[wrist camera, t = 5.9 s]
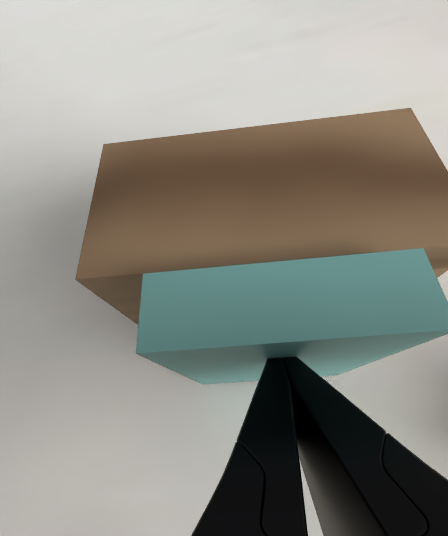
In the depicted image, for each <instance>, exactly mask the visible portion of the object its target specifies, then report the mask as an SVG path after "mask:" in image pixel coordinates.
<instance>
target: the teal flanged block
mask: <svg viewBox="0 0 448 536" xmlns="http://www.w3.org/2000/svg"><path fill="white" fill-rule="evenodd" d="M446 334H448V302H447V300H446V297H445V295H444V293H443V291H442V288H441V286H440V284H439V282H438V279H437V277H436V275H435V273H434V271H433V268H432V266H431V264H430V262H429V259H428V257H427V255H426V253H425V251H424V248H419V249H408V250H397V251H386V252H375V253H364V254H353V255H342V256H331V257H320V258H309V259H298V260H287V261H276V262H265V263H254V264H243V265H233V266H222V267H211V268H200V269H189V270H178V271H167V272H156V273H145V274H143V279H142V290H141V302H140V313H139V325H138V336H137V348H136V354H138V355H140V356H143V357H145V358H147V359H149V360H151V361H153V362H156V363H158V364H160V365H162V366H164V367H166V368H169V369H171V370H173V371H175V372H177V373H179V374H182V375H184V376H186V377H188V378H190V379H192V380H195V381H197V382H199V383H201V384H215V383H230V382H244V381H259V379H260V377H261V374H262V371H263V368H264V366H265V363H266V360H267V359H270V358H284V357H298V358H299V359H300V360H301V361H303V362H304V363H305V364H306V365H307V366H309V367H310V368H311V369H312V370H313V371H315V372H316V373H317V374H318V375H319V376H333V375H339V374H341V373H344V372H347V371H349V370H352V369H355V368H357V367H360V366H363V365H365V364H368V363H371V362H373V361H376V360H379V359H381V358H384V357H387V356H389V355H392V354H395V353H397V352H400V351H403V350H405V349H408V348H411V347H414V346H416V345H419V344H422V343H424V342H427V341H430V340H432V339H435V338H438V337H440V336H443V335H446Z"/></svg>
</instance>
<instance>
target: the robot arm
mask: <svg viewBox="0 0 448 536" xmlns="http://www.w3.org/2000/svg"><path fill="white" fill-rule="evenodd" d="M299 458H300V461H301V465H302V468H303V471H304V474H305V477H306V481H307V484H308V487H309V490H310V493H311V497H312V500H313V503H314V506H315V510H316V513H317V516H318V519H319V522H320V526H321V529H322V532H323V535H324V536H448V480H447V479H446V478H445V477H443V476H442V475H441V474H439V473H438V472H437V471H435V470H434V469H432V468H431V467H430V466H428V465H427V464H426V463H425V462H423V461H422V460H421V459H420V458H418V457H417V456H416V455H415V454H413V453H412V452H411V451H410V450H408V449H407V448H406V447H405V446H403V445H402V444H401V443H400V442H398V441H397V440H396V439H395V438H394V437H392V436H391V435H390V434H389V433H387V434H386V431H385V430H384V429H383V428H382V427H380V426H379V425H378V424H377V423H376V422H374V421H373V420H372V419H371V418H370V417H368V416H367V415H366V414H365V413H364V412H362V411H361V410H360V409H359V408H358V407H356V406H355V405H354V404H353V403H352V402H350V401H349V400H348V399H347V398H346V397H344V396H343V395H342V394H341V393H340V392H338V391H337V390H336V389H335V388H334V387H332V386H331V385H330V384H329V383H328V382H326V381H325V380H324V379H323V378H322V377H321V376H319V375H318V374H317V373H316V372H315V371H313V370H312V369H311V368H310V367H309V366H307V365H306V364H305V363H304V362H303V361H301V360H300V359H299V358H298V357H284V358H270V359H267V360H266V363H265V366H264V368H263V371H262V374H261V377H260V379H259V382H258V385H257V387H256V390H255V393H254V395H253V398H252V401H251V403H250V406H249V409H248V411H247V414H246V417H245V419H244V422H243V425H242V427H241V430H240V433H239V435H238V438H237V442H236V443H235V446H234V448H233V451H232V454H231V456H230V459H229V461H228V463H227V466H226V468H225V471H224V473H223V475H222V477H221V479H220V482H219V484H218V486H217V488H216V490H215V492H214V494H213V496H212V498H211V500H210V501H209V503H208V505H207V507H206V509H205V511H204V513H203V515H202V516H201V518H200V520H199V522H198V524H197V526H196V528H195V530H194V531H193V533H192V535H191V536H308V532H307V523H306V514H305V505H304V497H303V488H302V479H301V470H300V461H299Z"/></svg>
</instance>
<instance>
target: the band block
mask: <svg viewBox="0 0 448 536" xmlns="http://www.w3.org/2000/svg"><path fill="white" fill-rule="evenodd" d="M419 248H424V251H425V253H426V255H427V257H428V259H429V262H430V264H431V266H432V268H433V271H434V273H435V275H436V277H439V276H440V275H442V274H443V273H445V272H446V271H447V270H448V171H447V169H446V168H445V166H444V164H443V162H442V161H441V159H440V157H439V156H438V154H437V152H436V150H435V149H434V147H433V145H432V144H431V142H430V140H429V138H428V137H427V135H426V133H425V132H424V130H423V128H422V126H421V125H420V123H419V121H418V120H417V118H416V116H415V114H414V113H413V111H412V109H411V108H406V109H397V110H389V111H381V112H372V113H364V114H355V115H347V116H338V117H330V118H321V119H313V120H305V121H296V122H288V123H279V124H271V125H262V126H254V127H245V128H237V129H229V130H220V131H212V132H203V133H195V134H186V135H178V136H169V137H161V138H153V139H144V140H136V141H127V142H119V143H110V144H104V145H103V150H102V154H101V159H100V164H99V169H98V174H97V178H96V183H95V188H94V193H93V197H92V202H91V207H90V212H89V217H88V221H87V226H86V231H85V236H84V241H83V245H82V250H81V255H80V260H79V265H78V269H77V274H76V279H75V280H77V281H78V282H80V283H81V284H82V285H84V286H85V287H86V288H88V289H89V290H91V291H92V292H93V293H95V294H96V295H98V296H99V297H100V298H102V299H103V300H104V301H106V302H107V303H109V304H110V305H111V306H113V307H114V308H116V309H117V310H118V311H120V312H121V313H122V314H124V315H125V316H127V317H128V318H129V319H131V320H132V321H134V322H135V323H136V324H138V325H139V313H140V302H141V290H142V279H143V274H145V273H156V272H167V271H178V270H189V269H200V268H211V267H222V266H233V265H243V264H254V263H265V262H276V261H287V260H298V259H309V258H320V257H331V256H342V255H353V254H364V253H375V252H386V251H397V250H408V249H419Z"/></svg>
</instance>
